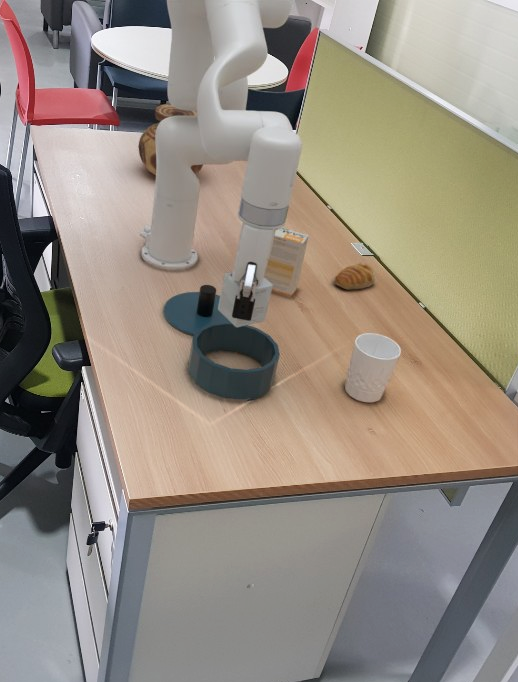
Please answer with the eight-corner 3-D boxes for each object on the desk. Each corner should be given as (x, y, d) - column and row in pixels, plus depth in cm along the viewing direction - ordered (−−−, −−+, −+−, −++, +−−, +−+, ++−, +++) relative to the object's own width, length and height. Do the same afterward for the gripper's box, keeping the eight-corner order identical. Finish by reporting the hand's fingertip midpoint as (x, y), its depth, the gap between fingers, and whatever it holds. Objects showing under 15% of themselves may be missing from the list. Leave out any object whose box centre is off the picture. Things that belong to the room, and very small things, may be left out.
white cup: (387, 385, 136) (403, 340, 131) (382, 410, 130) (398, 364, 124) (344, 373, 138) (358, 328, 132) (338, 397, 132) (352, 351, 126)
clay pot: (215, 181, 199) (195, 109, 188) (148, 199, 202) (125, 129, 191) (213, 155, 214) (194, 87, 203) (151, 172, 218) (129, 106, 206)
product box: (235, 328, 124) (243, 291, 120) (216, 309, 128) (223, 272, 124) (265, 321, 127) (273, 285, 122) (245, 303, 131) (253, 266, 126)
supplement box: (297, 289, 162) (310, 234, 155) (290, 298, 158) (303, 243, 151) (262, 278, 164) (273, 223, 157) (254, 287, 161) (265, 231, 153)
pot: (170, 369, 133) (174, 340, 129) (227, 341, 142) (232, 313, 139) (234, 413, 125) (240, 383, 121) (289, 380, 134) (296, 351, 131)
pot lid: (146, 312, 148) (149, 283, 144) (202, 288, 158) (206, 260, 154) (205, 350, 139) (210, 320, 135) (260, 323, 149) (266, 294, 145)
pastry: (349, 295, 162) (353, 280, 160) (326, 281, 166) (329, 266, 164) (376, 285, 168) (380, 270, 165) (353, 272, 172) (357, 257, 169)
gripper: (245, 184, 123) (228, 275, 133) (232, 229, 109) (215, 327, 119) (290, 192, 122) (270, 283, 133) (283, 239, 108) (261, 336, 119)
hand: (244, 304), depth 126 cm, fingers closed on product box, 8 cm apart
